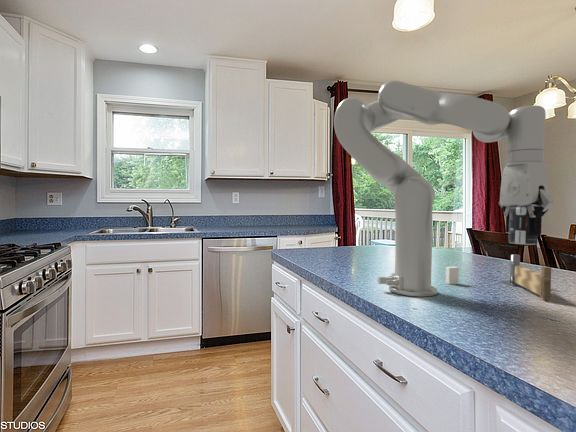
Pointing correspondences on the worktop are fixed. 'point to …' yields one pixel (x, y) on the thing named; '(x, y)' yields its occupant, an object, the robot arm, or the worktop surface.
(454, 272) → the block
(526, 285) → the gate
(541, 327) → the worktop surface
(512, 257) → the hinge post
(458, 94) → the robot arm
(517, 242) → the pill bottle
